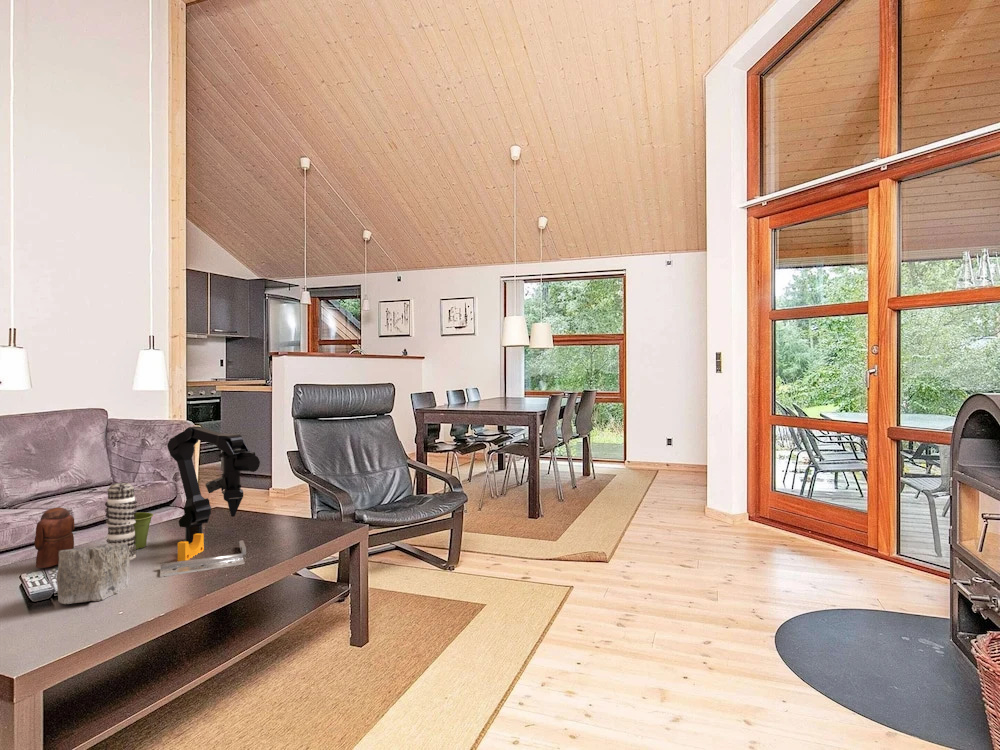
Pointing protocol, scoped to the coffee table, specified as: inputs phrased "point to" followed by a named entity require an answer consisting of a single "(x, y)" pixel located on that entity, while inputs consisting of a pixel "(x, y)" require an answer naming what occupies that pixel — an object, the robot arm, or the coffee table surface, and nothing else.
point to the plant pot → (141, 528)
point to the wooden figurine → (53, 536)
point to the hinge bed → (203, 563)
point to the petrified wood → (92, 573)
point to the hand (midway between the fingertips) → (231, 513)
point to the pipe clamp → (190, 547)
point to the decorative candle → (121, 516)
